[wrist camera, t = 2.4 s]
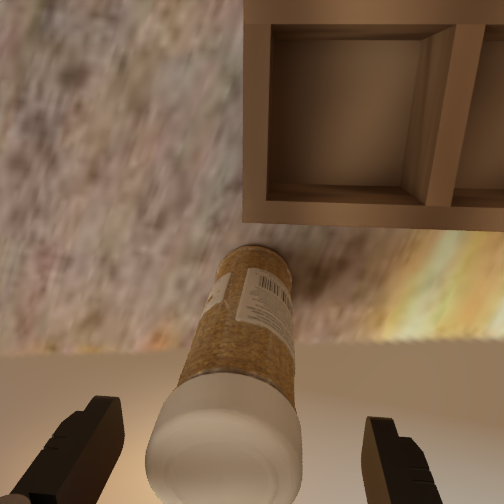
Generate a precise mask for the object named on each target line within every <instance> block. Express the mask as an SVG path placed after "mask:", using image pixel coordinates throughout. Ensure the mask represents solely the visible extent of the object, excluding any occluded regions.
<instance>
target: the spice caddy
mask: <svg viewBox="0 0 504 504" xmlns="http://www.w3.org/2000/svg"><path fill="white" fill-rule="evenodd" d="M242 223H269V224H297V225H325V226H353V227H381V228H410V229H438V230H466V231H494V232H504V0H244V44H243V219H242Z"/></svg>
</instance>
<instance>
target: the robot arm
mask: <svg viewBox="0 0 504 504" xmlns="http://www.w3.org/2000/svg"><path fill="white" fill-rule="evenodd" d="M124 437H125V433H124V425H123V418H122V410H121V403H120V399H119V398H118V397H110V396H94V397H93V398H92V400H91V401H90V402H89V404H88V405H87V407H86V408H85V410H84V411H75V412H74V413H73V414H72V415H70V416H69V417H68V418H66V419H65V420H64V421H63V422H61V424H60V425H59V427H58V428H57V429H56V431H55V432H54V434H53V435H52V438H50V439H49V440H48V442H47V443H46V445H45V446H44V449H43V450H41V451H40V453H39V454H38V456H37V457H36V458H35V460H34V461H33V462H32V464H31V465H30V467H29V468H28V469H27V471H26V472H25V474H24V475H23V476H22V478H21V479H20V480H19V482H18V483H17V485H16V486H15V488H14V489H13V490H12V491H11V493H10V494H9V495H5V496H2V497H0V504H96V503H97V501H98V499H99V497H100V495H101V493H102V490H103V489H104V487H105V485H106V483H107V480H108V478H109V476H110V474H111V472H112V470H113V468H114V466H115V464H116V462H117V460H118V458H119V456H120V454H121V451H122V448H123V444H124ZM361 467H362V476H363V481H364V486H365V492H366V497H367V502H368V504H443V503H442V500H441V498H440V495H439V492H438V490H437V487H436V485H435V484H434V479H433V477H432V474H431V472H430V471H429V466H428V463H427V461H426V458H425V455H424V453H423V451H422V450H421V449H420V448H419V447H418V445H417V444H416V443H415V442H414V441H413V440H412V438H410V437H399V436H398V433H397V430H396V427H395V424H394V421H393V419H392V418H384V417H370V416H368V417H367V418H366V424H365V431H364V439H363V446H362V454H361Z"/></svg>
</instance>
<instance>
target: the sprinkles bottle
mask: <svg viewBox="0 0 504 504" xmlns="http://www.w3.org/2000/svg"><path fill="white" fill-rule="evenodd" d="M291 290H292V275H291V272H290V270H289V268H288V265H287V264H286V263H285V261H284V260H283V258H282V257H280V256H279V255H278V254H276V253H275V252H274V251H272V250H270V249H267V248H264V247H259V246H244V247H240V248H238V249H236V250H234V251H232V252H231V253H230V254H229V255H227V256H226V257H225V258H224V259H223V260H222V261H221V263H220V265H219V267H218V270H217V272H216V277H215V283H214V286H213V287H212V289H211V291H210V294H209V296H208V299H207V301H206V304H205V307H204V310H203V312H202V315H201V318H200V321H199V324H198V326H197V329H196V332H195V335H194V338H193V341H192V345H191V350H190V352H189V354H188V357H187V360H186V363H185V366H184V368H183V370H182V373H181V375H180V379H179V382H178V385H177V387H176V388H175V389H174V390H173V392H172V393H171V394H170V395H169V396H168V398H167V399H166V401H165V402H164V404H163V406H162V408H161V411H160V414H159V416H158V418H157V421H156V424H155V427H154V429H153V432H152V435H151V437H150V440H149V443H148V446H147V450H146V455H145V468H146V475H147V478H148V481H149V484H150V486H151V488H152V489H153V491H154V492H155V494H156V495H157V497H158V498H159V499H160V500H161V502H162V503H163V504H292V503H293V501H294V500H295V498H296V496H297V494H298V492H299V490H300V486H301V481H302V440H301V426H300V422H299V419H298V416H297V412H296V409H295V402H294V376H295V351H294V328H293V311H292V301H291V296H290V293H291Z"/></svg>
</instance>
